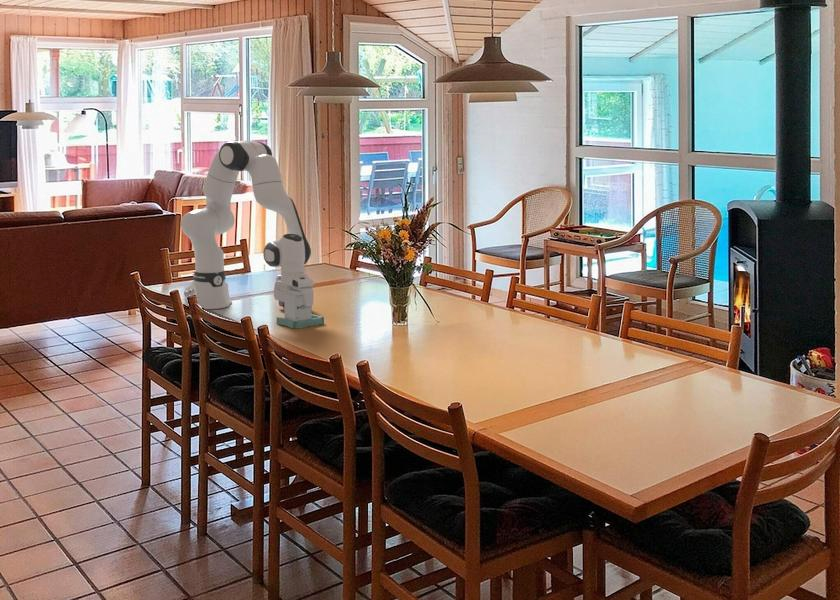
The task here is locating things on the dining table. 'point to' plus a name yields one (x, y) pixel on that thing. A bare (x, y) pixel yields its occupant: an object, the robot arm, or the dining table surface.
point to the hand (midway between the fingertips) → (293, 315)
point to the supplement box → (295, 306)
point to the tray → (301, 322)
